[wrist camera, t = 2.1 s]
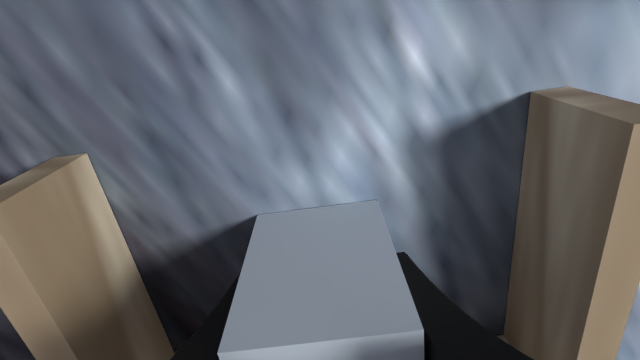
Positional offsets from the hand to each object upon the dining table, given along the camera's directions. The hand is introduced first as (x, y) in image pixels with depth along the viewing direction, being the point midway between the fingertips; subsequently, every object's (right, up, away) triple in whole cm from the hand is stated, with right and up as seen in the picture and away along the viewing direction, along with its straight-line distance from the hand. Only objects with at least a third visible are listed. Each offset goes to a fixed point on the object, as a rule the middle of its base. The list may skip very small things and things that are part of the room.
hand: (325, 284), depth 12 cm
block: (0, +1, +1) cm, 2 cm away
